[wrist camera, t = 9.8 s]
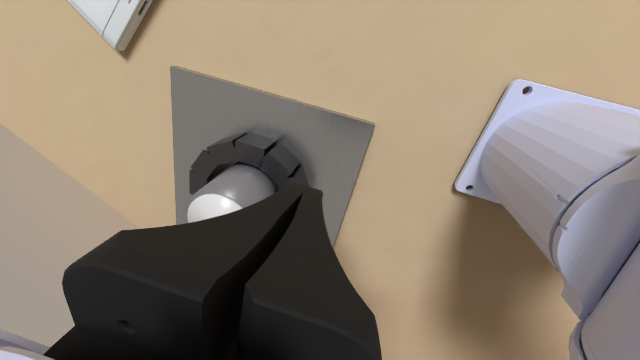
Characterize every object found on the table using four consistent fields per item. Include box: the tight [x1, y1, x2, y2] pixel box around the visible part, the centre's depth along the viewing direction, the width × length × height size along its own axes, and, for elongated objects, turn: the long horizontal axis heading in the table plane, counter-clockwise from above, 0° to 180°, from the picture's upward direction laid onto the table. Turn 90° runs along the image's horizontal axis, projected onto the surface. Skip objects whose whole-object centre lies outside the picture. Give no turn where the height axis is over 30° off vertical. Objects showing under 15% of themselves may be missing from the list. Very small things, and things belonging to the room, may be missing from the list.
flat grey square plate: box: [170, 66, 375, 247], centre depth 22 cm, size 16×16×3 cm
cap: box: [186, 161, 279, 223], centre depth 19 cm, size 5×5×6 cm
